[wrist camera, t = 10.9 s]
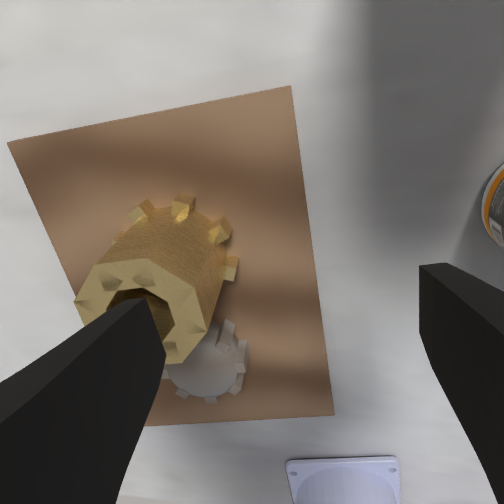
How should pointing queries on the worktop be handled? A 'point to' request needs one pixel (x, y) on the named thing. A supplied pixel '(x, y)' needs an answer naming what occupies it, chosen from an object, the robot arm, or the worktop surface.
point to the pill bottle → (494, 207)
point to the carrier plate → (238, 244)
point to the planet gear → (164, 272)
